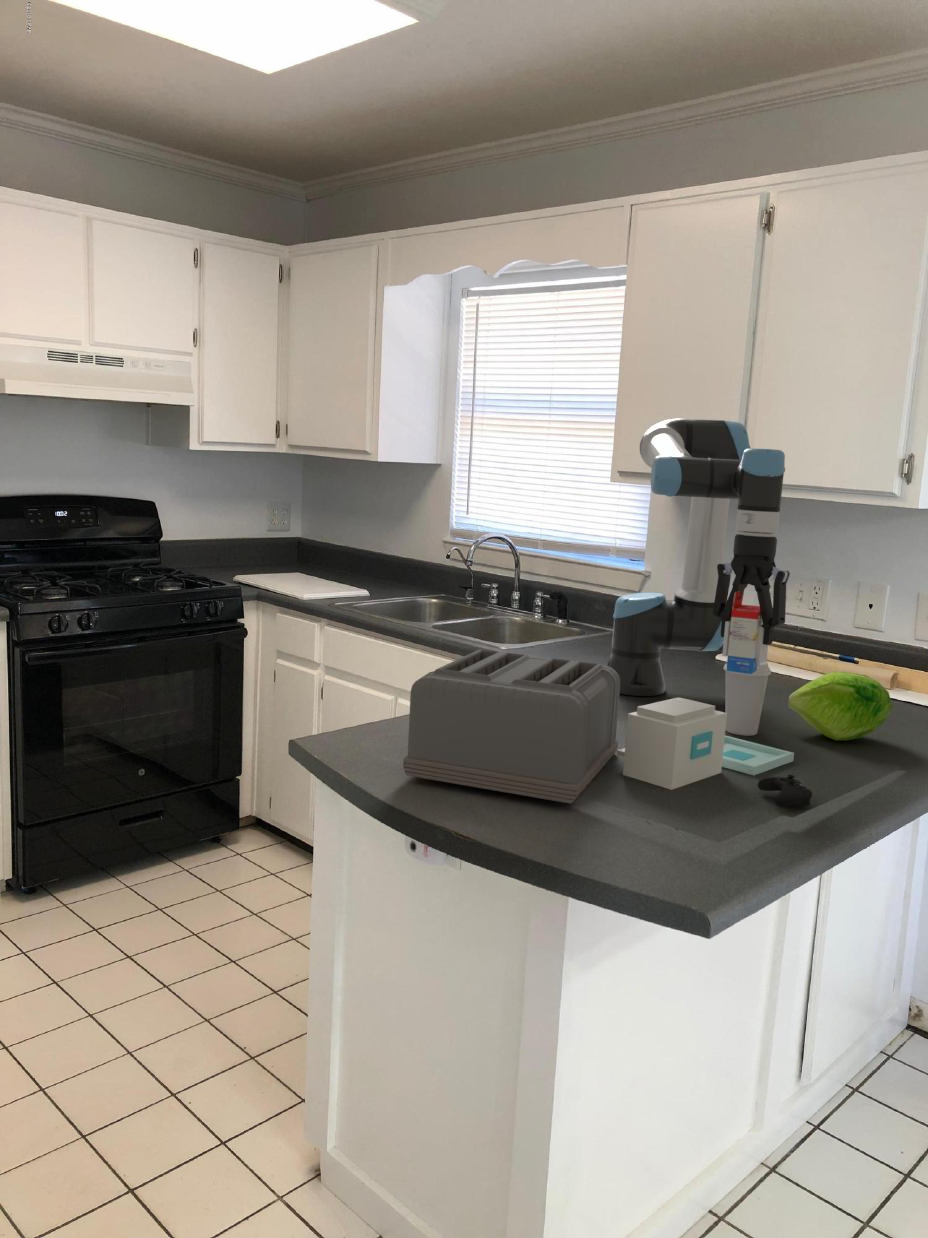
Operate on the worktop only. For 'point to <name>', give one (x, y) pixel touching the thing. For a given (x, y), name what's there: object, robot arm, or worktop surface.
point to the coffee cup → (745, 699)
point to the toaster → (514, 724)
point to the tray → (752, 756)
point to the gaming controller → (786, 790)
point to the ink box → (743, 637)
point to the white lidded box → (674, 742)
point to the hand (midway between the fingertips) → (744, 658)
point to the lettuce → (842, 704)
